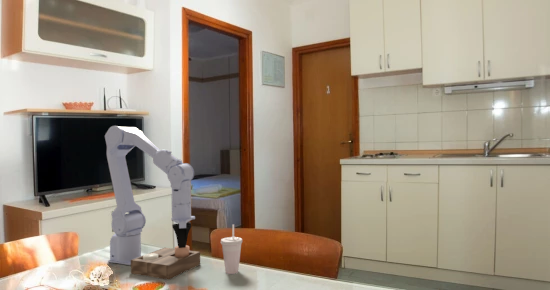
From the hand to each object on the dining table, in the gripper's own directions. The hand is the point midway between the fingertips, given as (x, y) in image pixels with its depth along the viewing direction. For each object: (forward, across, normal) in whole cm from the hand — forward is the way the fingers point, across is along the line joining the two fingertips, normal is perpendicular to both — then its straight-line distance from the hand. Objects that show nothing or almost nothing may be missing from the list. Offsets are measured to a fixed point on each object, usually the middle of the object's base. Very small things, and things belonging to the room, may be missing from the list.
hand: (182, 247), depth 120 cm
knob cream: (+5, 0, +9) cm, 11 cm away
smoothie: (+6, -9, -14) cm, 18 cm away
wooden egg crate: (+6, 0, +5) cm, 8 cm away
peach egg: (+3, 0, 0) cm, 3 cm away
